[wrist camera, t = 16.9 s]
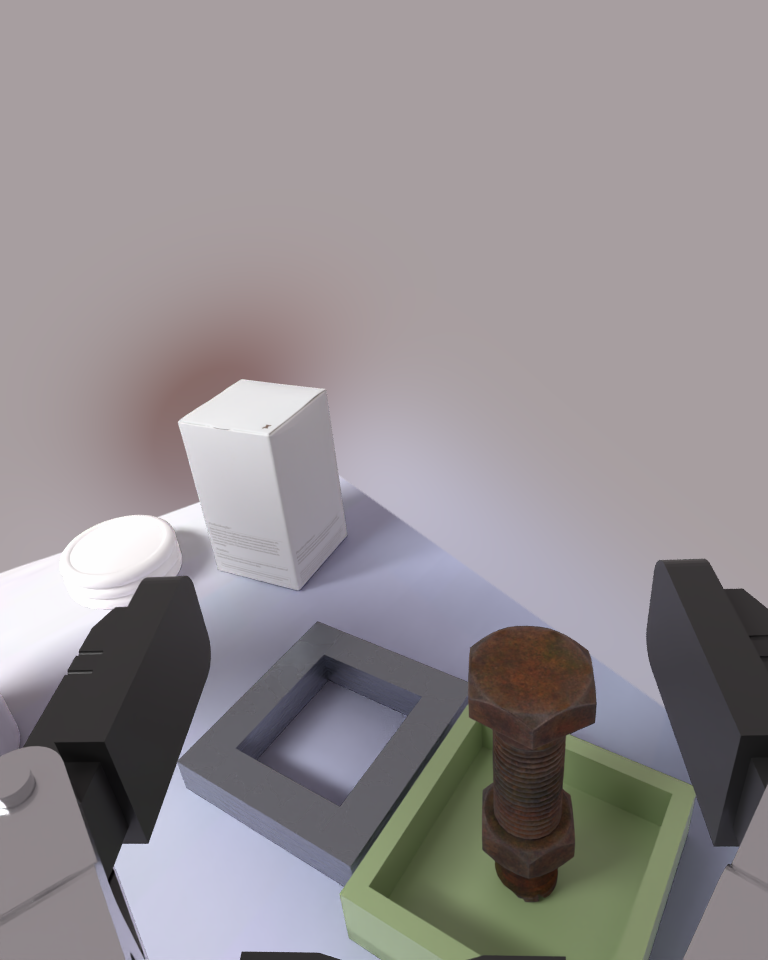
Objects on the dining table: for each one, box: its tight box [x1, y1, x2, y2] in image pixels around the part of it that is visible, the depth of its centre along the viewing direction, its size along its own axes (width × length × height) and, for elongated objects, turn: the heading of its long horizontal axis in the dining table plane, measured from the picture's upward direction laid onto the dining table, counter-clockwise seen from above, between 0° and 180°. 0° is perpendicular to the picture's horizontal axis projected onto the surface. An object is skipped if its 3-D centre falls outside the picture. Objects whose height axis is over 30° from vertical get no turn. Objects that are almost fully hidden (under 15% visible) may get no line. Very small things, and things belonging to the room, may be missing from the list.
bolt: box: [468, 626, 596, 903], centre depth 34 cm, size 6×5×15 cm
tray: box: [340, 705, 696, 960], centre depth 37 cm, size 13×14×4 cm
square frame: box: [177, 621, 468, 887], centre depth 46 cm, size 13×14×2 cm
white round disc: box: [59, 515, 182, 609], centre depth 64 cm, size 10×10×4 cm
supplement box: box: [178, 379, 347, 590], centre depth 62 cm, size 9×9×15 cm
